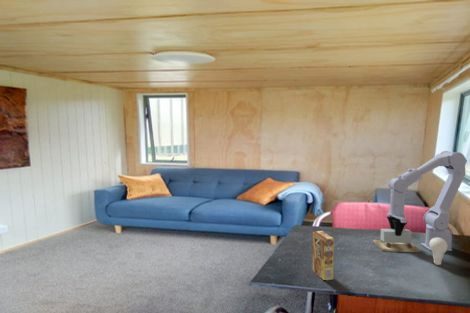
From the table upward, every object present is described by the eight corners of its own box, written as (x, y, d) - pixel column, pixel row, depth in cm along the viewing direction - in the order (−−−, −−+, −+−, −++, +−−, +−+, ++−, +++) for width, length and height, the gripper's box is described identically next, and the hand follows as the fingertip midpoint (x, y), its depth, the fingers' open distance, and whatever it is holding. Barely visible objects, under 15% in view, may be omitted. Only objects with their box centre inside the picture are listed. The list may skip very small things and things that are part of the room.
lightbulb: (447, 264, 124) (449, 237, 123) (445, 269, 119) (446, 241, 118) (430, 260, 128) (431, 234, 127) (426, 265, 123) (427, 238, 123)
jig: (407, 242, 148) (407, 236, 148) (420, 252, 136) (420, 246, 136) (372, 241, 150) (373, 236, 149) (382, 251, 138) (382, 245, 138)
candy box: (334, 280, 112) (334, 238, 110) (323, 281, 111) (323, 239, 109) (321, 269, 120) (322, 230, 119) (311, 270, 119) (312, 231, 118)
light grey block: (407, 239, 144) (407, 229, 144) (411, 243, 140) (411, 232, 140) (380, 239, 145) (380, 228, 145) (383, 242, 141) (384, 231, 141)
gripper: (381, 200, 149) (380, 228, 150) (394, 208, 135) (393, 239, 136) (397, 201, 148) (396, 229, 150) (412, 208, 134) (410, 239, 135)
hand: (396, 233), depth 143 cm, fingers closed on light grey block, 4 cm apart
